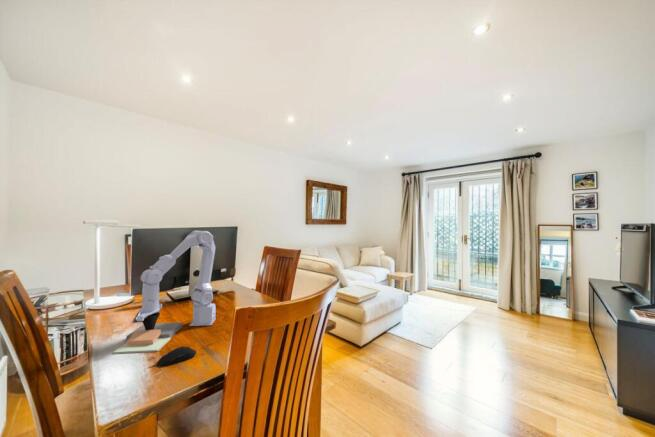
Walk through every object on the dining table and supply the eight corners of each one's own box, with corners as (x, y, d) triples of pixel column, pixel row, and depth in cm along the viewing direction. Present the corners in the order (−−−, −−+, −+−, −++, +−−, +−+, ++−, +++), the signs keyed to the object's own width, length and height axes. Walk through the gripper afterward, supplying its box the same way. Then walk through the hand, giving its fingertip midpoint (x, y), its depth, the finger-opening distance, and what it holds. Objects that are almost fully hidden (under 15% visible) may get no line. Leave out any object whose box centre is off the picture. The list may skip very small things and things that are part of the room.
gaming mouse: (145, 365, 84) (145, 353, 84) (193, 350, 94) (193, 340, 94) (147, 374, 79) (148, 361, 80) (198, 357, 89) (198, 346, 90)
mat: (170, 338, 102) (170, 337, 102) (157, 351, 92) (157, 349, 92) (130, 340, 100) (130, 339, 100) (112, 353, 90) (112, 352, 90)
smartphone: (139, 313, 132) (133, 323, 118) (139, 310, 132) (134, 320, 118) (159, 310, 136) (156, 320, 122) (159, 307, 136) (156, 316, 122)
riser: (182, 326, 114) (182, 322, 114) (169, 338, 102) (169, 334, 102) (144, 328, 112) (144, 323, 112) (126, 340, 100) (126, 335, 100)
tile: (161, 333, 102) (160, 329, 102) (153, 344, 97) (152, 339, 96) (137, 334, 101) (136, 330, 101) (127, 345, 95) (126, 341, 95)
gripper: (150, 294, 109) (149, 325, 109) (128, 304, 95) (127, 340, 94) (167, 293, 110) (166, 324, 110) (148, 304, 96) (147, 340, 95)
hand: (149, 332), depth 102 cm, fingers closed
